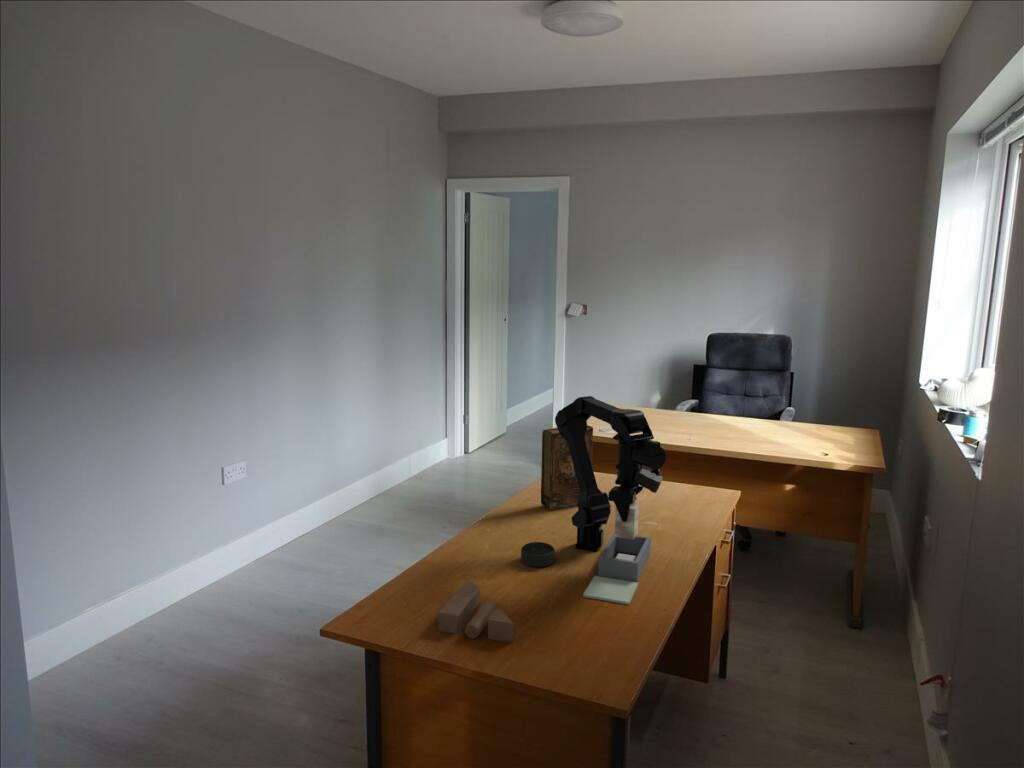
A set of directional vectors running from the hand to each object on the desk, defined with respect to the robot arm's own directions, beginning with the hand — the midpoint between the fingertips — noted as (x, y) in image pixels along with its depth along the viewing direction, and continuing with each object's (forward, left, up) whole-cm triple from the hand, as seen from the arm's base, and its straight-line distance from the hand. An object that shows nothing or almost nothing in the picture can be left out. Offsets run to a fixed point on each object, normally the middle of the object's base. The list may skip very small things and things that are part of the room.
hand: (626, 518), depth 197 cm
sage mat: (0, -16, -13) cm, 21 cm away
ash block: (0, 0, -4) cm, 4 cm away
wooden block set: (-23, -40, -14) cm, 48 cm away
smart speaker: (-22, -6, -13) cm, 26 cm away
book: (-27, +39, -13) cm, 49 cm away
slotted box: (0, 0, -13) cm, 13 cm away
